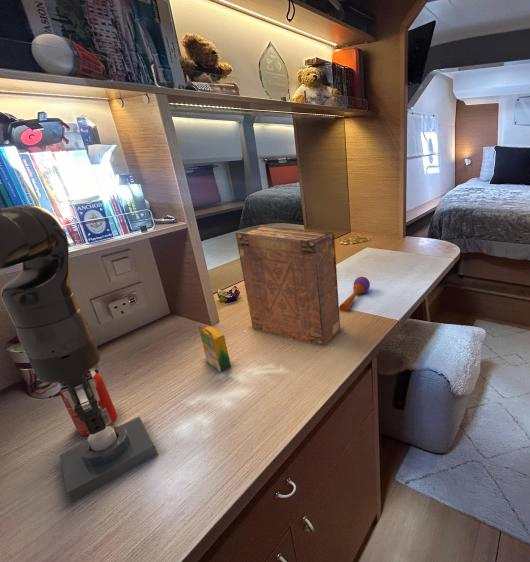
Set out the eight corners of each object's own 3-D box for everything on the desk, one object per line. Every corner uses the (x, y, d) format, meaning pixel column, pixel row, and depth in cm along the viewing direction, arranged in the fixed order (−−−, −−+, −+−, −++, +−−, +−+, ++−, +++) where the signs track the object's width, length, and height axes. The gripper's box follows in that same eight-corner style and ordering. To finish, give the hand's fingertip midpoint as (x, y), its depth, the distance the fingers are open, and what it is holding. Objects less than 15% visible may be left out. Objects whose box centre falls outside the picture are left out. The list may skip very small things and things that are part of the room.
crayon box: (232, 368, 85) (223, 328, 80) (220, 374, 83) (210, 333, 78) (218, 357, 89) (208, 318, 85) (206, 363, 87) (196, 323, 83)
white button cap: (93, 455, 56) (89, 446, 55) (89, 443, 59) (85, 434, 58) (119, 442, 59) (115, 433, 58) (114, 431, 61) (111, 422, 60)
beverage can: (115, 410, 72) (96, 363, 68) (121, 426, 68) (101, 377, 63) (77, 426, 68) (55, 378, 64) (81, 444, 64) (57, 394, 59)
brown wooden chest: (252, 329, 102) (234, 232, 90) (272, 316, 110) (258, 224, 98) (324, 347, 92) (314, 241, 81) (340, 331, 100) (334, 232, 88)
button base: (74, 505, 53) (62, 483, 51) (65, 467, 60) (54, 446, 58) (159, 457, 61) (151, 436, 59) (143, 427, 68) (136, 408, 66)
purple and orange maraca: (333, 300, 110) (355, 274, 127) (338, 316, 112) (359, 288, 129) (349, 300, 108) (370, 273, 125) (354, 316, 110) (373, 287, 127)
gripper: (23, 336, 52) (64, 421, 59) (28, 373, 44) (75, 467, 51) (84, 319, 57) (115, 399, 64) (99, 349, 49) (134, 438, 56)
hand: (98, 429), depth 57 cm, fingers closed
